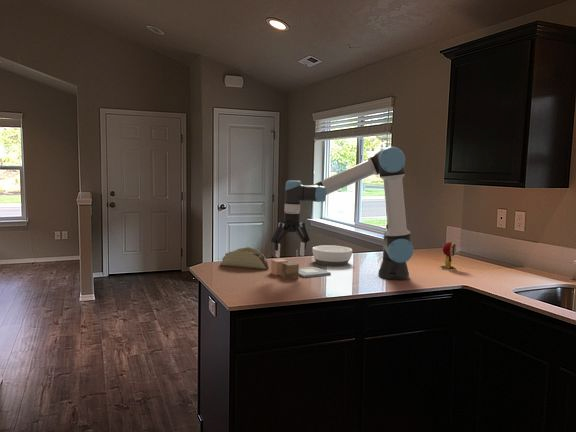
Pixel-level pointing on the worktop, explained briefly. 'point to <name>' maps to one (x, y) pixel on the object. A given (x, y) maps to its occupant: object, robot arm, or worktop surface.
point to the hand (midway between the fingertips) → (289, 256)
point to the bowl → (332, 255)
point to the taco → (245, 259)
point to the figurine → (448, 255)
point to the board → (312, 272)
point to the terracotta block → (277, 266)
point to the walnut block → (290, 270)
